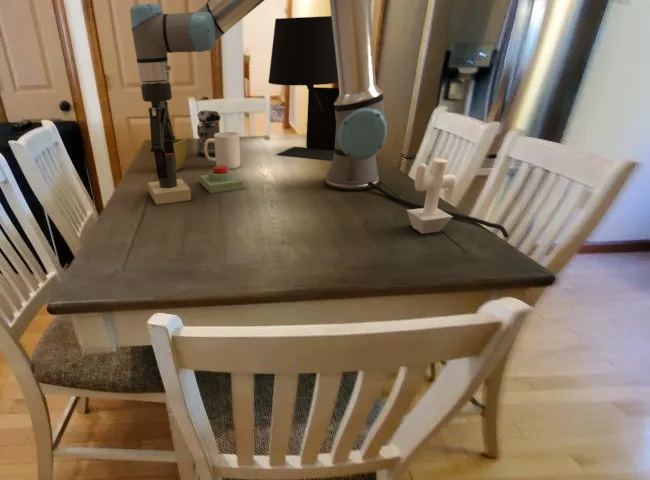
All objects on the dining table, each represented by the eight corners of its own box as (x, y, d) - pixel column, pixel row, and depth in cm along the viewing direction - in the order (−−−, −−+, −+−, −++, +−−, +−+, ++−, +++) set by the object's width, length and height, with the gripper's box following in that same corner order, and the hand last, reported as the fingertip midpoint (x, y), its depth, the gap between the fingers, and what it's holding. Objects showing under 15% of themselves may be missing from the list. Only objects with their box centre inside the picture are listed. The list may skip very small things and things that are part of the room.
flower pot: (154, 172, 157) (150, 143, 151) (167, 165, 163) (163, 137, 158) (177, 173, 154) (173, 144, 149) (189, 167, 160) (186, 138, 155)
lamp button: (228, 174, 137) (228, 167, 136) (215, 175, 136) (215, 169, 135) (224, 171, 140) (224, 164, 139) (212, 172, 139) (211, 166, 138)
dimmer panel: (191, 200, 130) (190, 188, 128) (156, 204, 128) (154, 192, 126) (182, 189, 139) (181, 178, 138) (149, 193, 137) (147, 182, 135)
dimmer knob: (161, 188, 129) (156, 156, 124) (158, 184, 133) (153, 153, 128) (178, 186, 131) (175, 154, 126) (175, 182, 134) (171, 151, 129)
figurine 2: (453, 232, 104) (470, 160, 95) (415, 237, 103) (429, 164, 94) (435, 221, 110) (450, 153, 101) (399, 226, 108) (411, 157, 99)
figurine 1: (201, 160, 169) (197, 113, 160) (197, 153, 178) (193, 108, 169) (225, 158, 170) (223, 111, 161) (220, 151, 179) (218, 107, 170)
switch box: (242, 189, 137) (242, 174, 135) (210, 193, 135) (209, 178, 132) (231, 179, 146) (230, 165, 144) (200, 183, 144) (199, 169, 142)
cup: (239, 169, 156) (238, 136, 150) (204, 170, 157) (201, 137, 150) (241, 163, 162) (239, 131, 156) (207, 164, 163) (204, 132, 157)
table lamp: (354, 151, 171) (367, 14, 147) (321, 169, 152) (331, 15, 128) (292, 146, 182) (295, 18, 158) (255, 161, 164) (252, 19, 139)
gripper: (161, 86, 107) (173, 183, 119) (177, 77, 127) (186, 160, 139) (129, 88, 107) (145, 184, 120) (149, 78, 127) (161, 161, 140)
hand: (167, 171), depth 130 cm, fingers open, 13 cm apart
